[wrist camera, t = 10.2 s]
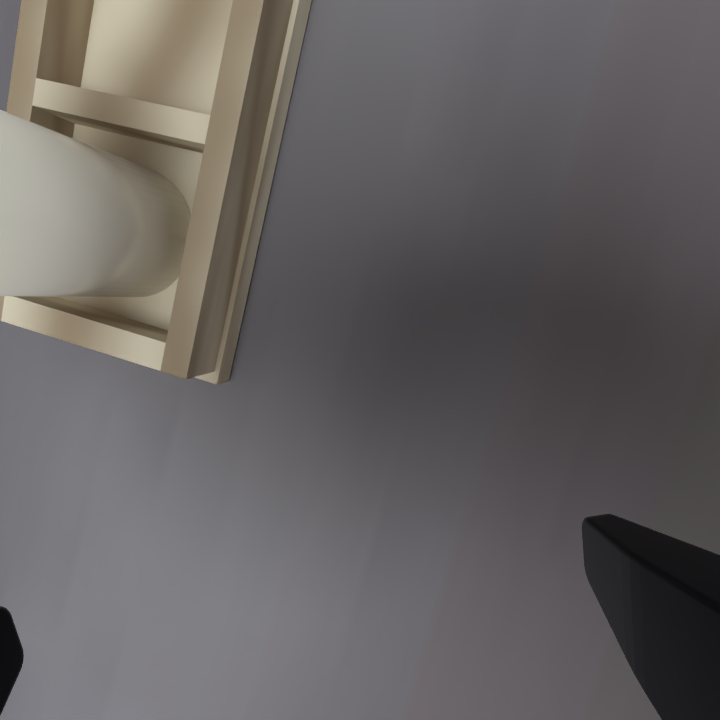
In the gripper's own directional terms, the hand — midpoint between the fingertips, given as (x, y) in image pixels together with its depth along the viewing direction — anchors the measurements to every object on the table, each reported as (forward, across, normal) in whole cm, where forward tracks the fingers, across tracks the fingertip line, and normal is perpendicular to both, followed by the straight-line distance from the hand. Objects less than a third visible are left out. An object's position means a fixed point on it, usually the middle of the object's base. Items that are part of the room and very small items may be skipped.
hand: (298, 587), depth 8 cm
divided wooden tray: (+15, +5, -10) cm, 18 cm away
